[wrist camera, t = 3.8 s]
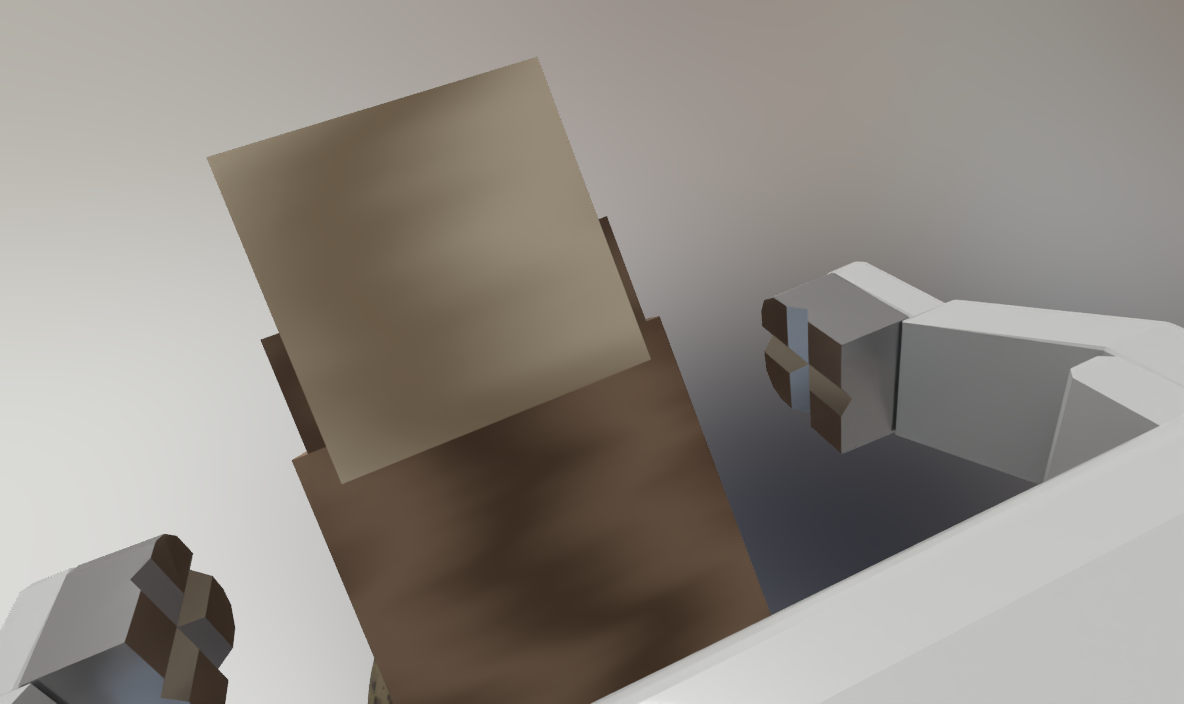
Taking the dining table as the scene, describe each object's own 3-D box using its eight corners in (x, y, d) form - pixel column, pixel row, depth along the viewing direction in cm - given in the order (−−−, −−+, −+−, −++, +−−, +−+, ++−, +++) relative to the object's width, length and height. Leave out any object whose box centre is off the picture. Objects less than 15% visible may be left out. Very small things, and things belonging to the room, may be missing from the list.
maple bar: (341, 484, 8) (207, 157, 7) (438, 385, 31) (406, 307, 31) (650, 359, 8) (537, 56, 8) (516, 355, 32) (486, 278, 32)
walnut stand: (662, 1347, 18) (243, 345, 16) (593, 991, 27) (330, 348, 26) (965, 1136, 19) (620, 211, 17) (797, 872, 29) (565, 262, 27)
